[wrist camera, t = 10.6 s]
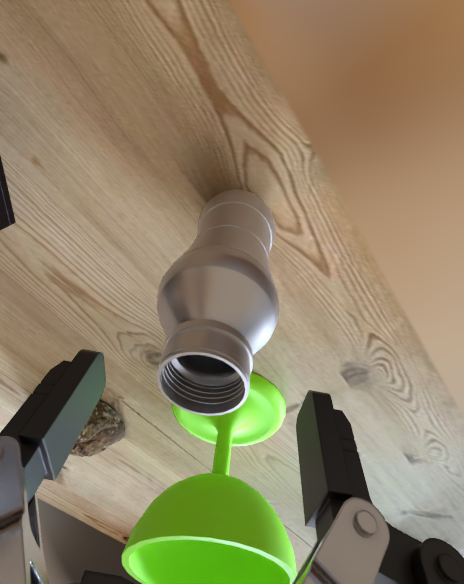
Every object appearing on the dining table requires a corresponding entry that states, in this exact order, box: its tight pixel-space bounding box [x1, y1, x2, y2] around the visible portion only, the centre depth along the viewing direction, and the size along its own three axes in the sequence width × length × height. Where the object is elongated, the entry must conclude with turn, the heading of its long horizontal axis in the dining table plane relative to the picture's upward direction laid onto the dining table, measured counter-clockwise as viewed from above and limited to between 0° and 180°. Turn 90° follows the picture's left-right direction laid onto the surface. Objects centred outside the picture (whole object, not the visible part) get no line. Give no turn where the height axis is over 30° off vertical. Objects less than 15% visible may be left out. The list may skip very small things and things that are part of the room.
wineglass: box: [122, 372, 297, 584], centre depth 36 cm, size 16×16×18 cm
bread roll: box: [70, 400, 125, 457], centre depth 45 cm, size 13×12×5 cm
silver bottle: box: [156, 189, 280, 416], centre depth 21 cm, size 6×7×20 cm
